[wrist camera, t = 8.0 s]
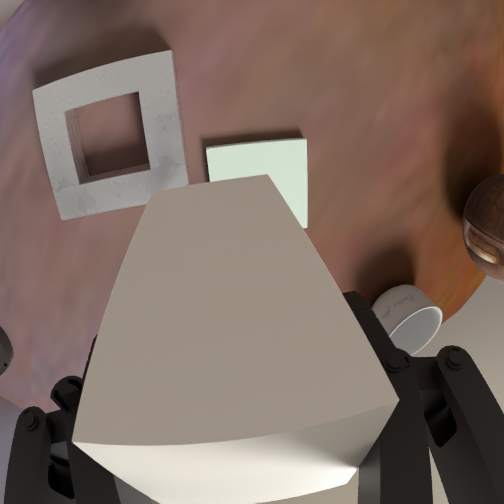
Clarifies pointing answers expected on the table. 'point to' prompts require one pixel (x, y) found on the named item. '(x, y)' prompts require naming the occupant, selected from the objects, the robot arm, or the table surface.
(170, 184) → the socket plate
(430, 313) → the teacup
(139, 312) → the peg
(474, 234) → the bronze metal ball
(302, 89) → the table surface
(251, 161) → the pad
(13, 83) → the table surface
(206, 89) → the table surface
